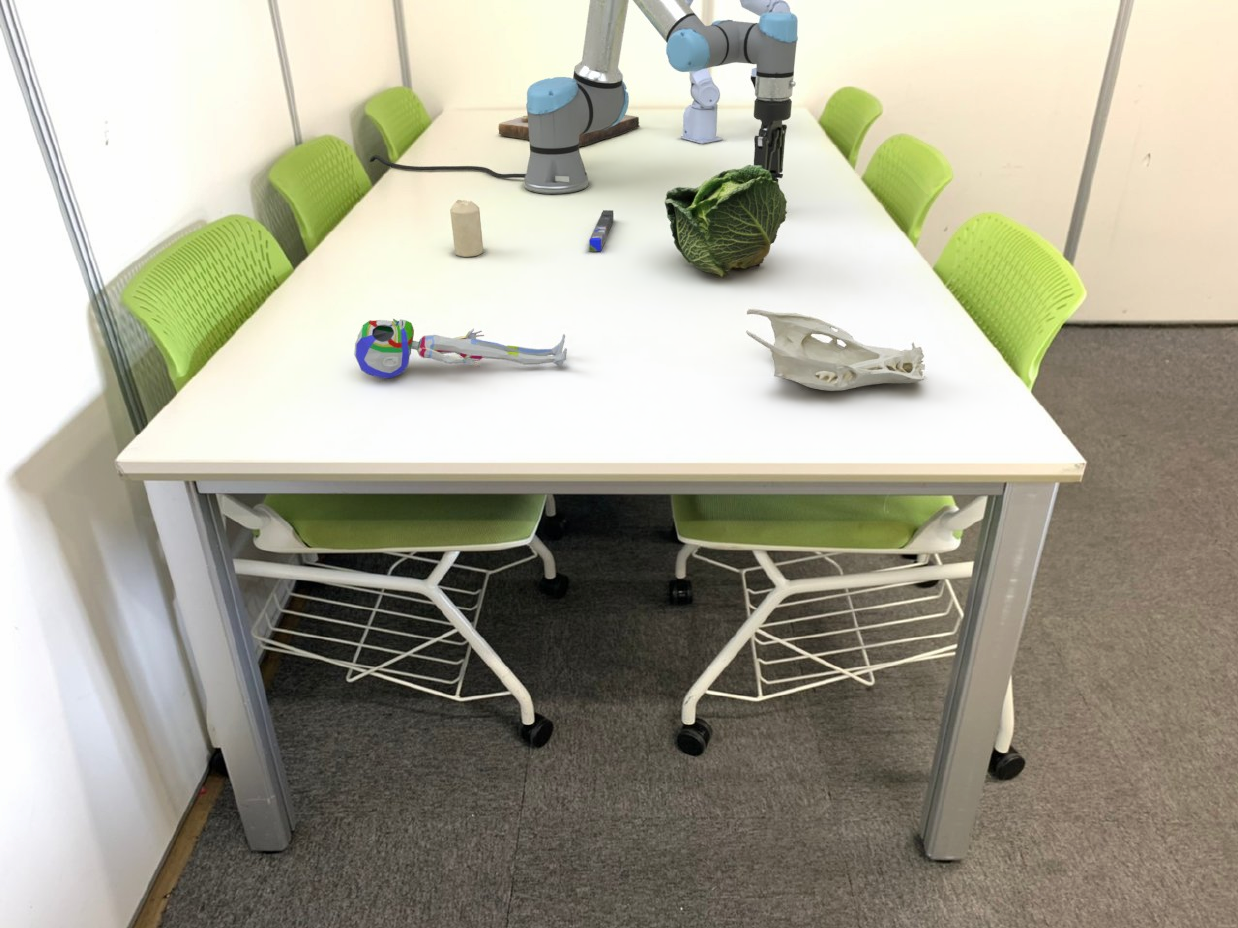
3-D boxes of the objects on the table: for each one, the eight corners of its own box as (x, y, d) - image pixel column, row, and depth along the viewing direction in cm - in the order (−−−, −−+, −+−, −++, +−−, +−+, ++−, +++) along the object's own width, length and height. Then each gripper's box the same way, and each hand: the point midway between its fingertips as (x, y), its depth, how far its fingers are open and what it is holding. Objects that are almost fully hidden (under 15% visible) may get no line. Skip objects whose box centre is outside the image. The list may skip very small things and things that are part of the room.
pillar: (613, 210, 190) (600, 241, 173) (613, 220, 191) (600, 251, 174) (603, 210, 190) (589, 240, 173) (603, 220, 191) (589, 251, 174)
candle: (488, 249, 176) (483, 198, 171) (475, 258, 172) (470, 206, 167) (463, 246, 178) (457, 196, 173) (450, 255, 174) (443, 204, 168)
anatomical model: (747, 299, 130) (925, 301, 126) (745, 356, 135) (916, 360, 131) (744, 342, 118) (940, 346, 114) (742, 403, 123) (930, 410, 119)
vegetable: (694, 294, 173) (643, 202, 166) (775, 239, 175) (728, 145, 167) (734, 307, 155) (678, 205, 147) (824, 245, 156) (773, 141, 149)
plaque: (578, 121, 243) (496, 109, 258) (578, 149, 246) (497, 135, 261) (641, 104, 264) (562, 94, 278) (641, 129, 267) (563, 118, 282)
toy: (569, 347, 126) (349, 329, 122) (563, 400, 131) (350, 385, 126) (565, 318, 135) (359, 301, 130) (559, 369, 139) (360, 354, 134)
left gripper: (776, 107, 174) (767, 226, 186) (804, 91, 187) (794, 203, 199) (740, 104, 177) (733, 221, 189) (770, 89, 190) (762, 199, 202)
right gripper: (766, 53, 237) (762, 107, 245) (803, 47, 245) (798, 100, 252) (747, 50, 242) (744, 103, 249) (784, 45, 249) (780, 97, 257)
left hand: (765, 212), depth 194 cm, fingers open, 5 cm apart
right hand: (770, 101), depth 251 cm, fingers open, 7 cm apart
